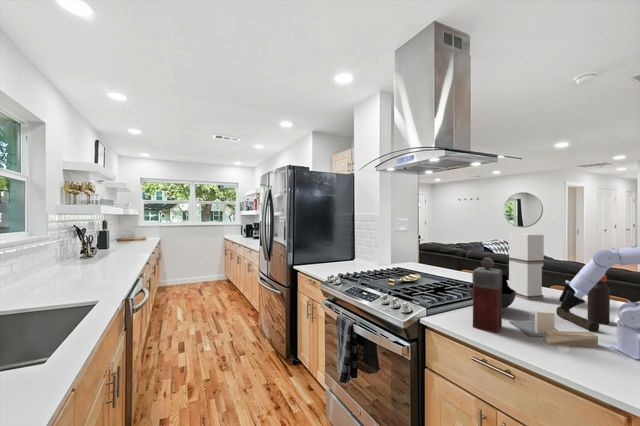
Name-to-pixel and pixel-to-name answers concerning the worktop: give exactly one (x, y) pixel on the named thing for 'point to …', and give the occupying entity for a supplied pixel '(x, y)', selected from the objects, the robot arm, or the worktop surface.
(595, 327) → the brown wooden log
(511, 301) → the bowl of black rocks
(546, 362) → the worktop surface
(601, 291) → the bottle
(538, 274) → the banded white pillar
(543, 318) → the tile
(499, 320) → the pepper grinder
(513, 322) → the mat
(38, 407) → the worktop surface
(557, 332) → the tan wooden plank
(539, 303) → the worktop surface
